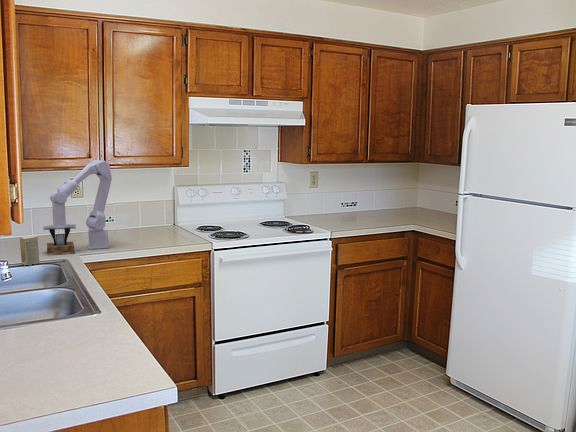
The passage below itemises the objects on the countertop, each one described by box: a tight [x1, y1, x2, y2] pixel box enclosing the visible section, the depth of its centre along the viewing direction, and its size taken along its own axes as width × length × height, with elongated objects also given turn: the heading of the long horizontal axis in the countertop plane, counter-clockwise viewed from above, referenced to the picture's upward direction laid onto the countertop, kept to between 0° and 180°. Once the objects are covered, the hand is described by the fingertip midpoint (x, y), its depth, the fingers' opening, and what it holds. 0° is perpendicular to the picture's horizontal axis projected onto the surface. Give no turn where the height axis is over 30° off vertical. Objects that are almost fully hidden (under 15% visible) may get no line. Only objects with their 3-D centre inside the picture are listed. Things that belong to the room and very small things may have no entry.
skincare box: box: [19, 235, 40, 266], centre depth 250 cm, size 6×4×12 cm
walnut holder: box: [46, 241, 76, 256], centre depth 276 cm, size 12×12×4 cm
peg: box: [55, 233, 65, 246], centre depth 275 cm, size 4×4×7 cm
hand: (60, 244), depth 276 cm, fingers closed on peg, 4 cm apart
